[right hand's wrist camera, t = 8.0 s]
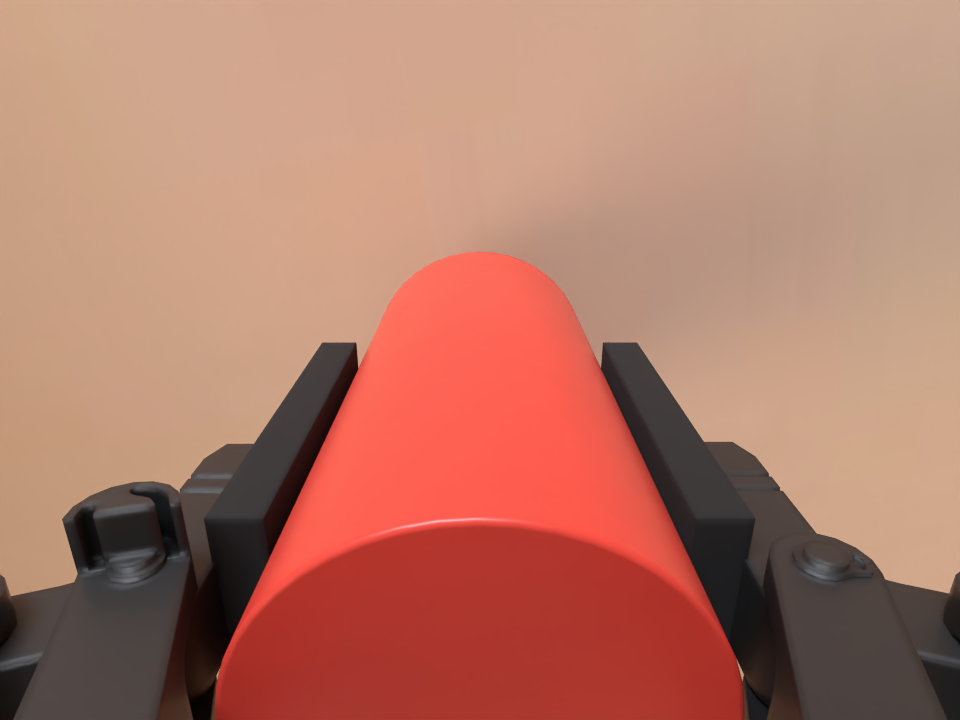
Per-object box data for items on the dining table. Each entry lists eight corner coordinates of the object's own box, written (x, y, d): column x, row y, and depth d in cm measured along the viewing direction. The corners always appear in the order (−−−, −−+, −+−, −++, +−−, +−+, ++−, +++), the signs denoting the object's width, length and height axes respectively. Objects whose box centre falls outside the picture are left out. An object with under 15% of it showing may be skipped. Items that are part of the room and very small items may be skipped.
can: (623, 351, 17) (854, 739, 7) (481, 476, 19) (481, 960, 8) (478, 205, 16) (476, 403, 5) (336, 353, 17) (106, 743, 7)
